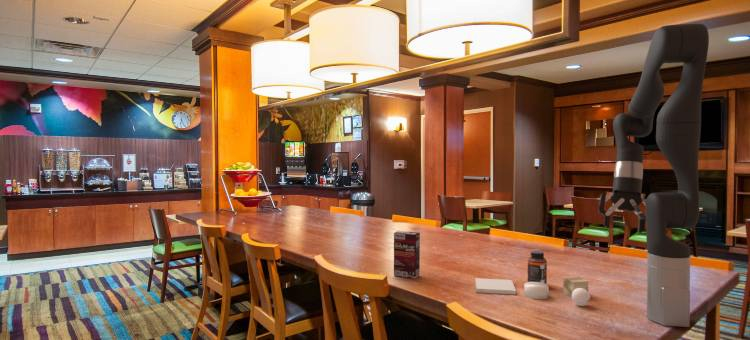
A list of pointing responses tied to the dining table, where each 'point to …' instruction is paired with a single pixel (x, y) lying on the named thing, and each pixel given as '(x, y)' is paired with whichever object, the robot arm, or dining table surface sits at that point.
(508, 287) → the plate
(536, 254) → the supplement bottle
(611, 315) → the dining table surface
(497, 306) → the dining table surface
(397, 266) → the supplement box
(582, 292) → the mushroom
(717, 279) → the dining table surface
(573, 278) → the maple block
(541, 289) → the white rounded puck
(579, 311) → the dining table surface
